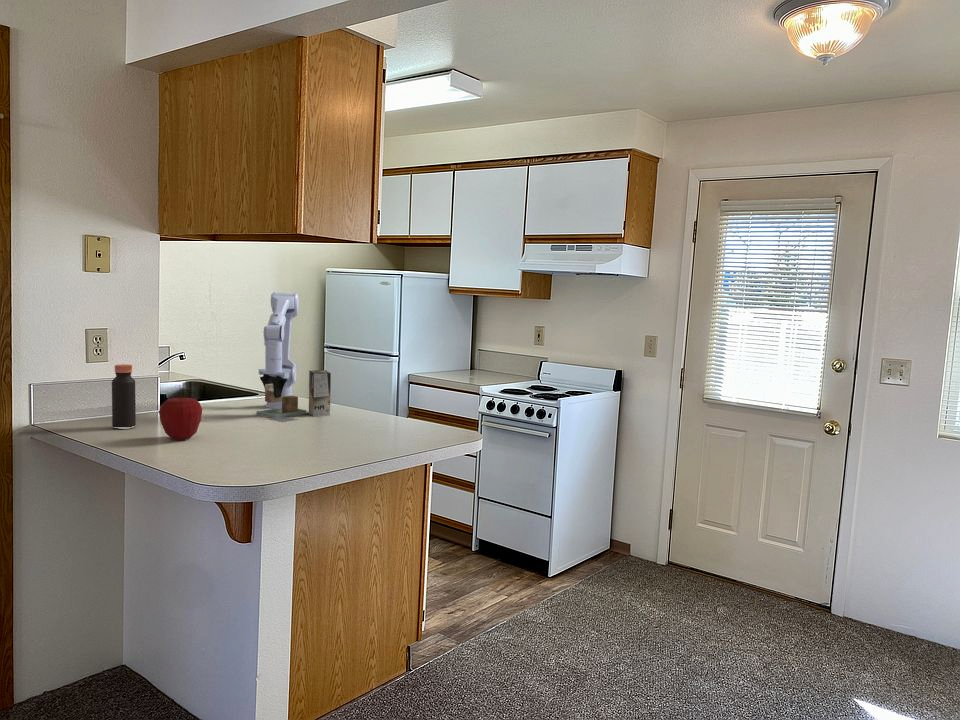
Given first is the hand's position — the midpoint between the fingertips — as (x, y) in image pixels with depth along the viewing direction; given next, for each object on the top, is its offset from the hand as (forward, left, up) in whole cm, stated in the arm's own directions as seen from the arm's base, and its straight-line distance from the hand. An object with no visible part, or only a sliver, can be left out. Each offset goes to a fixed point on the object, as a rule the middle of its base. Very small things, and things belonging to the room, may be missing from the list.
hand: (273, 396), depth 261 cm
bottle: (-15, -46, -7) cm, 49 cm away
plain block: (0, +7, -7) cm, 10 cm away
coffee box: (+9, +14, -7) cm, 18 cm away
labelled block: (0, 0, -2) cm, 2 cm away
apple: (+12, -43, -7) cm, 46 cm away
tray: (0, +4, -7) cm, 8 cm away
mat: (+9, -3, -7) cm, 12 cm away
